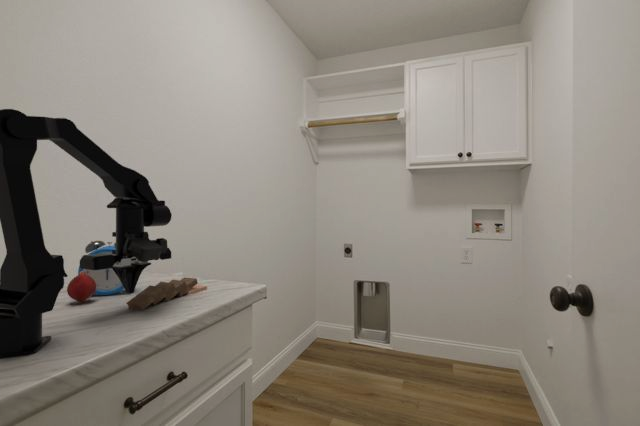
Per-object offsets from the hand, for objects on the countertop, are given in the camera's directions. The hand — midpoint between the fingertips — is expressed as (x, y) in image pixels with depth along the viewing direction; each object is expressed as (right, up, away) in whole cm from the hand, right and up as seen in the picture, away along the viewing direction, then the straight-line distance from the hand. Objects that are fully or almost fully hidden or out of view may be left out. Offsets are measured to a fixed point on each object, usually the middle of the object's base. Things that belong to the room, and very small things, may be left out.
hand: (130, 293), depth 73 cm
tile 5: (+6, -4, +14) cm, 16 cm away
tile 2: (+2, -3, +4) cm, 5 cm away
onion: (-15, -4, +5) cm, 17 cm away
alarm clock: (-15, -4, +14) cm, 21 cm away
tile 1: (+1, -3, 0) cm, 3 cm away
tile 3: (+3, -3, +7) cm, 9 cm away
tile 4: (+5, -3, +11) cm, 13 cm away
